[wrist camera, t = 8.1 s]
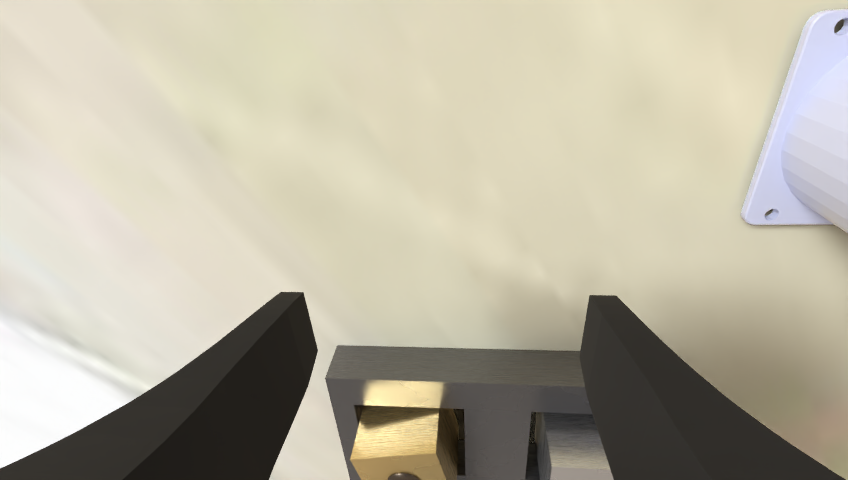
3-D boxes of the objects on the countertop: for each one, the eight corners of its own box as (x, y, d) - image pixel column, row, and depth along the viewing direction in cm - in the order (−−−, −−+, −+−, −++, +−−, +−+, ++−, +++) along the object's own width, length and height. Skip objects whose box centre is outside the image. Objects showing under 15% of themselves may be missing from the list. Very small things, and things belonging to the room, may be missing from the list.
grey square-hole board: (669, 353, 23) (688, 390, 21) (634, 467, 28) (647, 506, 26) (337, 345, 25) (325, 378, 23) (360, 453, 30) (352, 487, 28)
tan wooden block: (441, 374, 26) (435, 454, 21) (458, 423, 28) (456, 506, 23) (369, 382, 27) (349, 460, 22) (391, 429, 29) (376, 510, 24)
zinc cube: (620, 386, 25) (651, 473, 20) (608, 437, 27) (634, 525, 23) (538, 384, 25) (552, 468, 21) (534, 434, 28) (545, 519, 23)
